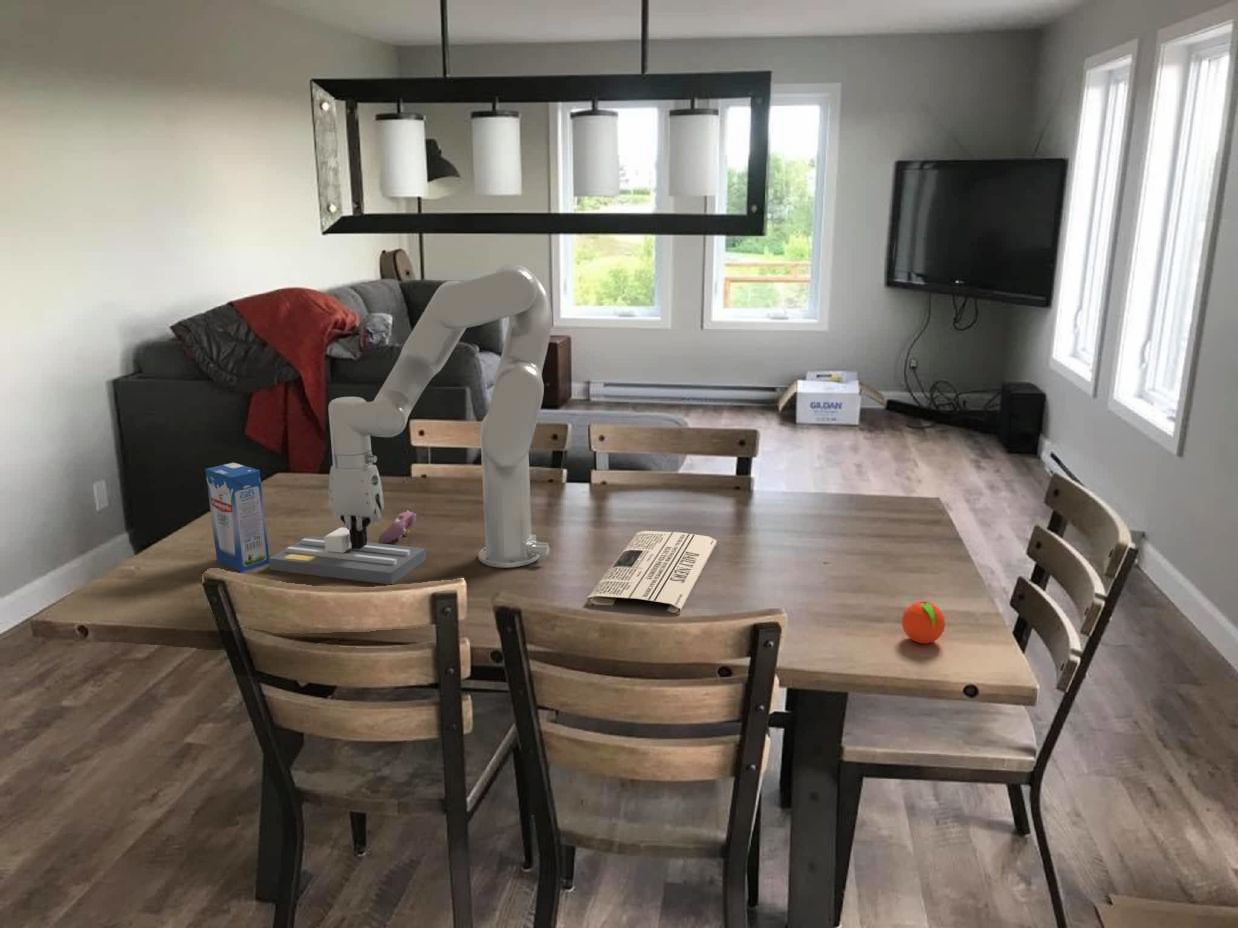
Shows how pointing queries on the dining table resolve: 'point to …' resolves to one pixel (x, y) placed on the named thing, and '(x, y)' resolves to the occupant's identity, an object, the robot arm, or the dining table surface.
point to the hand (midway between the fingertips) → (359, 546)
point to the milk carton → (237, 516)
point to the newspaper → (656, 569)
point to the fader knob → (338, 540)
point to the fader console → (349, 561)
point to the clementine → (923, 622)
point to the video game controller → (398, 527)
